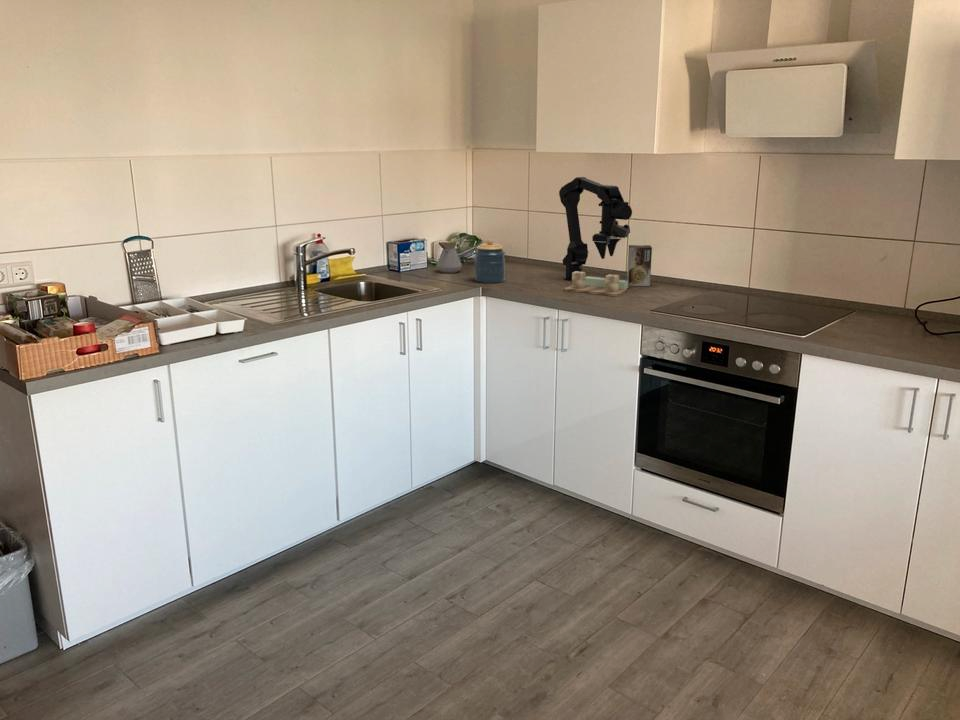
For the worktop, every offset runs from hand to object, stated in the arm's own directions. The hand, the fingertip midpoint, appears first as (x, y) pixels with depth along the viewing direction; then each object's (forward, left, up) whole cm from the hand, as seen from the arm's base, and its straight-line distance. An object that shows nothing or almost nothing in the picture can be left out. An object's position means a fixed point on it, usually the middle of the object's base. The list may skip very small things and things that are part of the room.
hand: (607, 257), depth 309 cm
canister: (-47, -12, -12) cm, 50 cm away
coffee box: (+10, +12, -12) cm, 20 cm away
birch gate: (0, -11, -12) cm, 17 cm away
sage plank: (0, 0, -12) cm, 12 cm away
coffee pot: (-72, -7, -12) cm, 74 cm away
